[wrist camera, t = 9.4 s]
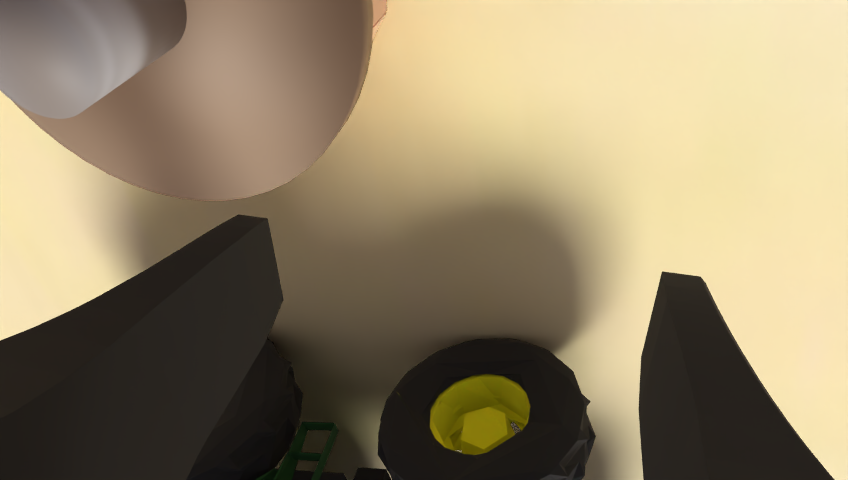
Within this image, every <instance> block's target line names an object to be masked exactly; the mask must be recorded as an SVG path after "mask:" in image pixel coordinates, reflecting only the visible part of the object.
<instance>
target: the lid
mask: <svg viewBox="0 0 848 480" xmlns="http://www.w3.org/2000/svg"><path fill="white" fill-rule="evenodd" d="M372 36H373V2H372V0H0V90H1V91H2V92H3V93H4V94H5V95H6V96H7V97H9V98H10V99H11V100H12V101H13V102H14V103H15V104H16V105H17V106H18V107H19V108H20V109H21V110H22V111H23V112H24V113H25V114H26V115H27V116H28V117H29V118H30V119H31V120H32V121H34V122H35V123H36V124H37V125H38V126H39V127H40V128H41V129H42V130H44V131H45V132H46V133H47V134H49V135H50V136H51V137H52V138H54V139H55V140H56V141H57V142H59V143H60V144H61V145H63V146H64V147H65V148H67V149H68V150H70V151H71V152H73V153H74V154H76V155H77V156H79V157H80V158H82V159H83V160H85V161H86V162H88V163H90V164H92V165H93V166H95V167H97V168H99V169H101V170H102V171H104V172H106V173H108V174H110V175H112V176H114V177H116V178H119V179H121V180H123V181H125V182H127V183H130V184H132V185H135V186H138V187H141V188H144V189H146V190H149V191H152V192H155V193H159V194H163V195H168V196H172V197H177V198H182V199H191V200H200V201H228V200H235V199H241V198H248V197H252V196H255V195H258V194H262V193H265V192H268V191H271V190H273V189H275V188H277V187H279V186H281V185H283V184H286V183H288V182H289V181H291V180H292V179H294V178H295V177H297V176H298V175H300V174H301V173H302V172H304V171H305V170H307V169H308V168H309V167H310V166H311V165H312V164H313V163H314V162H315V161H316V160H317V159H318V158H319V157H320V156H321V155H322V154H323V153H324V152H325V150H326V149H327V148H328V146H329V145H330V143H331V142H332V141H333V139H334V138H335V137H336V135H337V134H338V132H339V131H340V130H341V128H342V127H343V126H344V124H345V123H346V121H347V120H348V118H349V116H350V114H351V112H352V110H353V108H354V106H355V104H356V102H357V100H358V98H359V96H360V93H361V90H362V87H363V84H364V81H365V78H366V75H367V71H368V65H369V59H370V54H371V48H372Z"/></svg>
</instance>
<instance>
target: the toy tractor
mask: <svg viewBox="0 0 848 480" xmlns="http://www.w3.org/2000/svg"><path fill="white" fill-rule="evenodd" d="M290 365H291V362H289V361H288V360H286V359H284V358H282V357H280V355H279V354H278V352H277V350H276V348H275V347H274V345H273V342H271V341H269V340H267V339H266V341H265V344H264V345H263V347H262V349H261V351H260V352H259V354H258V356H257V357H256V359H255V361H254V362H253V364H252V366H251V367H250V369H249V371H248V373H247V374H246V376H245V378H244V379H243V381H242V382H241V384H240V386H239V387H238V389H237V391H236V392H235V394H234V396H233V397H232V399H231V400H230V402H229V404H228V405H227V407H226V409H225V410H224V412H223V414H222V415H221V417H220V419H219V420H218V422H217V423H216V425H215V427H214V428H213V430H212V432H211V433H210V435H209V437H208V438H207V440H206V442H205V444H204V446H203V447H202V449H201V451H200V453H199V455H198V456H197V458H196V460H195V463H194V465H193V467H192V469H191V471H190V473H189V475H188V477H187V479H186V480H347V479H346V477H345V475H344V473H330V472H323V469H324V467H325V464H326V462H327V459H328V457H329V454H330V452H331V449H332V447H333V444H334V442H335V439H336V437H337V434H338V428H337V426H336V424H334V423H323V422H302V424H301V426H300V428H299V430H298V432H297V434H296V430H297V427H298V423H299V419H300V415H301V407H302V397H303V393H302V391H301V390H300V388H299V387H298V385H297V384H296V382H295V379H294V373H293V368H292V367H291V366H290ZM589 403H590V401H589V400H588V399H587V398H586V397H585V396H584V395H582V394H581V391H580V388H579V386H578V383H577V380H576V378H575V375H574V372H573V371H572V370H571V369H570V368H569V367H567V366H566V365H565V364H564V363H563V362H561V361H560V360H559V359H558V358H557V357H556V356H554V355H553V354H552V353H551V352H550V351H548V350H546V349H543V348H541V347H538V346H535V345H532V344H528V343H525V342H522V341H518V340H515V339H477V340H472V341H468V342H465V343H461V344H458V345H455V346H452V347H449V348H446V349H443V350H440V351H438V352H436V353H435V354H433V355H432V356H430V357H428V358H427V359H425V360H424V361H423V362H421V363H420V364H418V365H417V366H415V367H414V368H413V369H411V370H410V371H408V372H407V373H406V375H405V376H404V377H403V378H402V379H401V381H400V382H399V383H398V385H397V386H396V388H395V389H394V390H393V392H392V393H391V394H390V396H389V397H388V399H387V400H386V403H385V406H384V409H383V413H382V416H381V424H380V429H379V435H378V456H379V457H380V459H381V460H382V462H383V463H384V465H385V467H386V468H387V470H388V471H389V473H390V475H391V478H392V480H582V478H583V477H584V475H585V464H586V462H587V460H588V457H589V455H590V452H591V449H592V446H593V443H594V440H595V437H596V436H595V433H594V431H593V428H592V426H591V423H590V421H589V419H588V416H587V414H586V409H587V405H588V404H589ZM512 422H514V423H515V424H516V425H517V426H518V427H519V428H520V430H521V431H520V432H519V433H517V434H516V435H515V433H514V431H513V429H512V427H511V425H510V424H511V423H512ZM308 430H327V431H331V433H330V436H329V438H328V440H327V443H326V445H325V447H324V450H323V452H322V454H321V453H304V452H301V450H302V447H303V444H304V441H305V438H306V435H307V432H308ZM295 434H296V436H295ZM290 445H291V446H290ZM289 447H290V448H289ZM288 449H289V450H288ZM455 450H462V453H461V452H458V451H455ZM287 451H288V452H287ZM286 452H287V454H286V456H285V458H284V460H283V462H282V464H281V466H280V468H279V469H276V468H275V467H276V466H277V464H278V463H279V461H280V460H281V459H282V457H283V456H284V455H285V453H286ZM298 460H307V461H319V462H318V464H317V466H316V469H315V471H314V472H313V471H297V470H295V468H296V465H297V462H298ZM387 470H386V469H373V468H358V469H357V471H356V474H355V477H354V479H353V480H391V478H390V476H389V474H388V472H387Z"/></svg>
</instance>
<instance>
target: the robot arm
mask: <svg viewBox="0 0 848 480" xmlns="http://www.w3.org/2000/svg"><path fill="white" fill-rule="evenodd" d="M282 301H283V295H282V290H281V285H280V280H279V275H278V270H277V264H276V259H275V254H274V249H273V244H272V239H271V234H270V228H269V223H268V219H267V218H260V217H252V216H245V215H237V216H235V217H233V218H231V219H229V220H228V221H226V222H224V223H222V224H221V225H219V226H217V227H215V228H214V229H212V230H210V231H209V232H207V233H206V234H204V235H202V236H201V237H199V238H197V239H196V240H194V241H193V242H191V243H189V244H188V245H186V246H184V247H183V248H181V249H180V250H178V251H176V252H175V253H173V254H171V255H170V256H168V257H166V258H165V259H163V260H161V261H160V262H158V263H156V264H155V265H153V266H152V267H150V268H148V269H147V270H145V271H143V272H141V273H140V274H138V275H136V276H134V277H132V278H131V279H129V280H127V281H125V282H123V283H122V284H120V285H118V286H116V287H114V288H113V289H111V290H109V291H107V292H105V293H104V294H102V295H100V296H98V297H96V298H95V299H93V300H91V301H89V302H87V303H85V304H83V305H81V306H79V307H77V308H75V309H73V310H71V311H69V312H66V313H64V314H62V315H60V316H58V317H56V318H53V319H51V320H49V321H47V322H45V323H42V324H40V325H38V326H36V327H33V328H31V329H29V330H26V331H24V332H21V333H19V334H16V335H14V336H11V337H8V338H6V339H3V340H1V341H0V480H186V479H187V477H188V475H189V473H190V471H191V469H192V467H193V465H194V463H195V460H196V458H197V456H198V455H199V453H200V451H201V449H202V447H203V446H204V444H205V442H206V440H207V438H208V437H209V435H210V433H211V432H212V430H213V428H214V427H215V425H216V423H217V422H218V420H219V419H220V417H221V415H222V414H223V412H224V410H225V409H226V407H227V405H228V404H229V402H230V400H231V399H232V397H233V396H234V394H235V392H236V391H237V389H238V387H239V386H240V384H241V382H242V381H243V379H244V378H245V376H246V374H247V373H248V371H249V369H250V367H251V366H252V364H253V362H254V361H255V359H256V357H257V356H258V354H259V352H260V351H261V349H262V347H263V345H264V344H265V341H266V339H267V337H268V335H269V332H270V330H271V328H272V326H273V323H274V321H275V319H276V316H277V314H278V311H279V309H280V306H281V304H282ZM639 421H640V435H641V450H642V463H643V477H644V480H834V479H833V478H832V476H831V475H830V474H829V473H828V472H827V470H826V469H825V468H824V467H823V465H822V464H821V463H820V462H819V461H818V459H817V458H816V457H815V456H814V455H813V453H812V452H811V451H810V450H809V448H808V447H807V446H806V445H805V443H804V442H803V441H802V439H801V438H800V437H799V435H798V434H797V433H796V431H795V430H794V429H793V427H792V426H791V425H790V423H789V422H788V421H787V419H786V418H785V416H784V415H783V414H782V412H781V411H780V409H779V408H778V406H777V405H776V404H775V402H774V401H773V399H772V398H771V396H770V395H769V393H768V392H767V390H766V389H765V387H764V386H763V384H762V383H761V381H760V380H759V378H758V377H757V375H756V373H755V372H754V370H753V369H752V367H751V365H750V364H749V362H748V361H747V359H746V357H745V356H744V354H743V352H742V351H741V349H740V347H739V346H738V344H737V342H736V341H735V339H734V337H733V335H732V333H731V332H730V330H729V328H728V326H727V324H726V323H725V321H724V319H723V317H722V315H721V313H720V311H719V309H718V308H717V306H716V304H715V302H714V300H713V298H712V295H711V293H710V291H709V289H708V287H707V285H706V283H705V282H704V281H703V279H702V278H701V277H699V276H692V275H684V274H677V273H669V272H662V274H661V278H660V282H659V287H658V291H657V295H656V299H655V303H654V307H653V311H652V315H651V319H650V323H649V328H648V332H647V336H646V340H645V344H644V348H643V352H642V356H641V373H640V393H639Z"/></svg>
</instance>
